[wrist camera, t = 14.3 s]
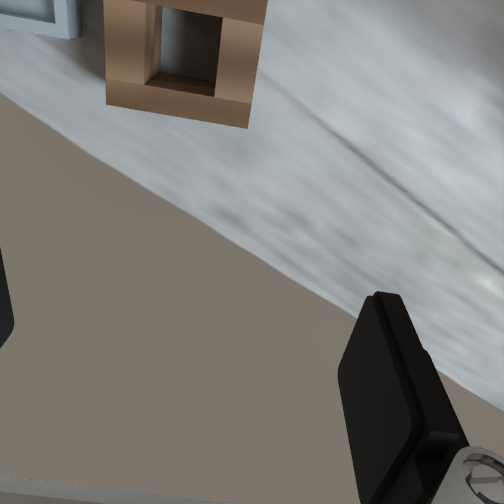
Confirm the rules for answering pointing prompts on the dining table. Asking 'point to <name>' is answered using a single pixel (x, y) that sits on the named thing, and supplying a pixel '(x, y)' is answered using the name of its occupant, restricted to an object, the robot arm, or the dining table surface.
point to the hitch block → (173, 86)
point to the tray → (43, 17)
